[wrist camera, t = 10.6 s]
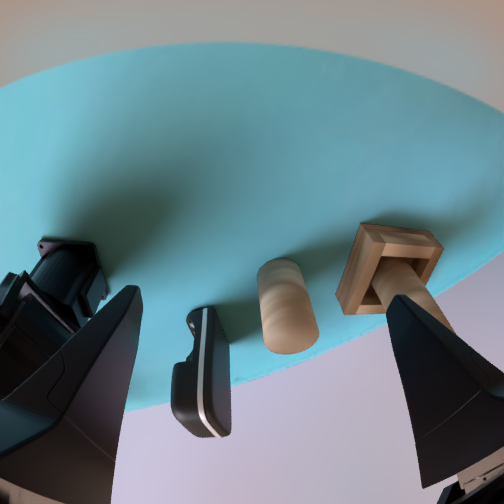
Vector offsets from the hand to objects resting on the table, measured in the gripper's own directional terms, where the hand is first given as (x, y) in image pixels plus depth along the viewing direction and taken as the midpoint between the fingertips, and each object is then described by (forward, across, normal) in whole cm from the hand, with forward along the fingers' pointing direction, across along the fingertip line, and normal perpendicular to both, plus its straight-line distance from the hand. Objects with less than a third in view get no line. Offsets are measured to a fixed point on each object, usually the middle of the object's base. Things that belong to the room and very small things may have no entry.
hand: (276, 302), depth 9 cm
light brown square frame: (+13, -14, +8) cm, 20 cm away
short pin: (+13, -4, +10) cm, 16 cm away
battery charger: (+13, +3, +17) cm, 22 cm away
